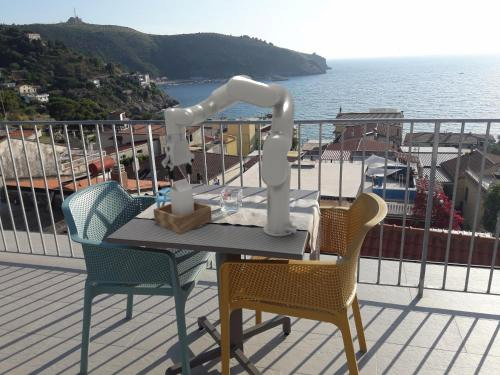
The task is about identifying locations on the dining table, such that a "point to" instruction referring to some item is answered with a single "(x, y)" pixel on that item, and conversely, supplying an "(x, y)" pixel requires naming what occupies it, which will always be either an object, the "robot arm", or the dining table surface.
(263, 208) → the dining table surface
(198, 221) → the wooden crate
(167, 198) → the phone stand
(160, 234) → the dining table surface
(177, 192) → the milk carton
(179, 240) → the dining table surface
